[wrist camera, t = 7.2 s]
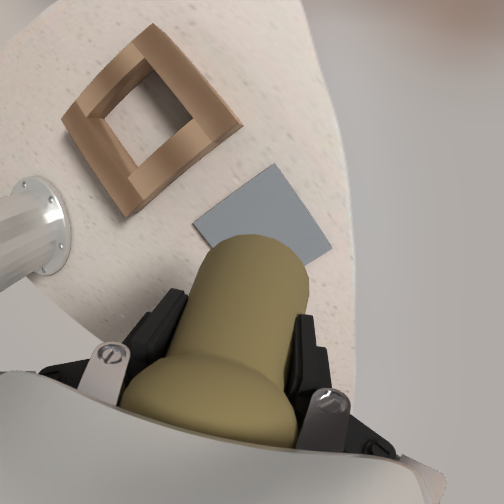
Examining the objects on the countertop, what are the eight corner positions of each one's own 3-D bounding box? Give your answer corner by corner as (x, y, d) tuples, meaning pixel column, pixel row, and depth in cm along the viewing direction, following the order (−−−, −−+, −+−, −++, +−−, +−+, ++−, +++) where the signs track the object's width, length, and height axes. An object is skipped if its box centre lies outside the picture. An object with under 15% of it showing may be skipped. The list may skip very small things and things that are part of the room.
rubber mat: (252, 295, 28) (251, 297, 28) (194, 221, 27) (193, 223, 26) (331, 246, 26) (332, 248, 25) (274, 163, 24) (274, 163, 24)
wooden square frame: (140, 210, 27) (125, 217, 24) (78, 119, 24) (60, 119, 21) (243, 125, 23) (238, 122, 20) (165, 33, 21) (152, 23, 18)
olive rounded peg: (301, 339, 16) (291, 524, 6) (200, 326, 17) (119, 486, 7) (317, 239, 14) (345, 447, 4) (197, 228, 15) (47, 378, 5)
